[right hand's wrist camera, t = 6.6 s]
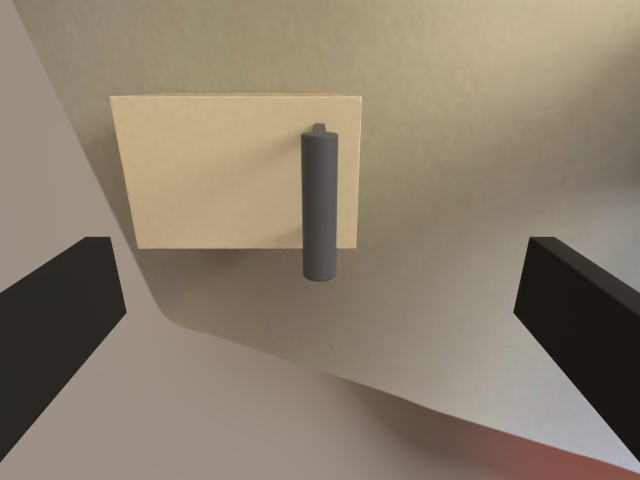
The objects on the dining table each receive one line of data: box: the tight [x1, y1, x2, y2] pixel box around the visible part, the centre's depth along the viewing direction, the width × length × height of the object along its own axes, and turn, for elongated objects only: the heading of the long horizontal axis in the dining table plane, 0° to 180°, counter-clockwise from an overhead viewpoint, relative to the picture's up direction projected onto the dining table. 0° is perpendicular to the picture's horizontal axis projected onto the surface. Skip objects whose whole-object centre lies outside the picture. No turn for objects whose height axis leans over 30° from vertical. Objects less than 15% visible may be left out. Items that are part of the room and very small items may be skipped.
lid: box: [109, 96, 362, 282], centre depth 22 cm, size 15×10×8 cm, turn 90°
